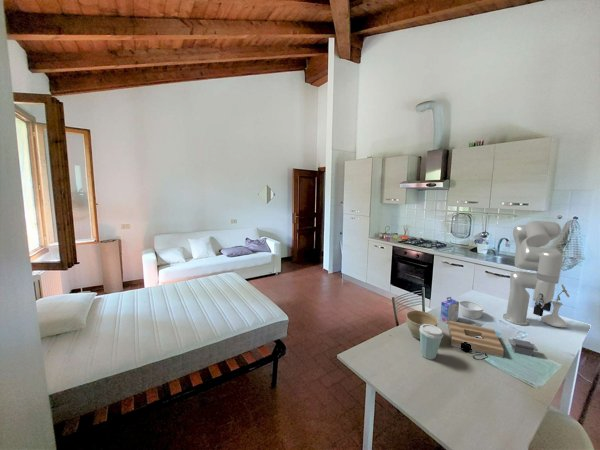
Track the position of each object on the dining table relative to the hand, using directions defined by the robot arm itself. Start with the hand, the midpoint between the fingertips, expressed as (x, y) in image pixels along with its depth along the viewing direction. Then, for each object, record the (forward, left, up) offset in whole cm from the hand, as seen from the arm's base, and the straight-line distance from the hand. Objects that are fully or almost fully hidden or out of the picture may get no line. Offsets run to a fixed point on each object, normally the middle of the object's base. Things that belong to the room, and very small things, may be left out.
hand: (541, 312), depth 123 cm
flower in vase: (-47, +24, -25) cm, 58 cm away
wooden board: (-5, -24, -24) cm, 35 cm away
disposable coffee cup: (+19, -46, -25) cm, 56 cm away
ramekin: (-37, -21, -25) cm, 49 cm away
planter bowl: (+2, -50, -25) cm, 56 cm away
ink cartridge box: (-24, -34, -25) cm, 48 cm away
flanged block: (-5, -3, -25) cm, 25 cm away
